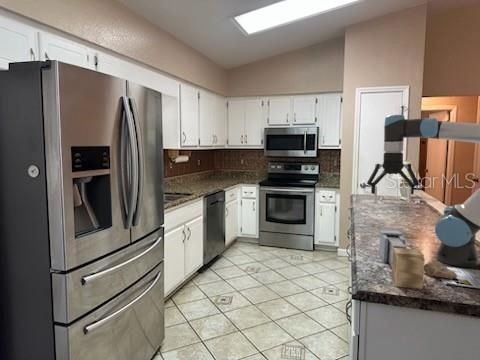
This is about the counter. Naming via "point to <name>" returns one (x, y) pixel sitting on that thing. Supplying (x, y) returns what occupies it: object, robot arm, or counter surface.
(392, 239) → the light grey long block
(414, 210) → the counter surface
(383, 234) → the grey u-shaped block
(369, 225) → the counter surface
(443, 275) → the rock
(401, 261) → the cardboard box
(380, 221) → the counter surface
